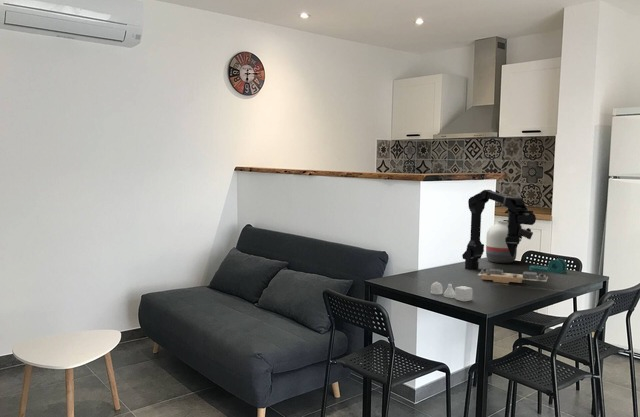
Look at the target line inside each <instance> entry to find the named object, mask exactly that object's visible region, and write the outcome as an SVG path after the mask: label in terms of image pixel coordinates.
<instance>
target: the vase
mask: <svg viewBox="0 0 640 417" xmlns="http://www.w3.org/2000/svg"><path fill="white" fill-rule="evenodd" d="M507 234H508V221H506V220H497V221H495V223H494V224H493V225H492V226H490V227H489V228H488V230H487V232H486V237H485V238H486V240H485V241H486V242H485V243H486V244H485V245H486V246H485V256H486V259H487V260H488V261H489V262H492V263H495V264H511V263H514V262H515V260H516V258H517V253H518V252H517V250H518V249H517V250H516V254H514V257H512V256H511V254H510V252H509V249H508V247H507V244H506V242H505V238H506V237H507Z"/></svg>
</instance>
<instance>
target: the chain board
mask: <svg viewBox="0 0 640 417" xmlns="http://www.w3.org/2000/svg"><path fill="white" fill-rule="evenodd" d="M481 275H482V274H481V271H480V272H479V273H478V274H477V276H480V277H481ZM502 275H506V276H513V275H517V277H522V281H524V280H527V281H535V282H537V281H538V282H547V281H548V279H549V276H546V278H545V280H538V276H539V275H537V278H536V279H527V278H523V274H519V273H509V272H508V273H507V272H503V274H502Z"/></svg>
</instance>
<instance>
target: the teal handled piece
mask: <svg viewBox="0 0 640 417" xmlns="http://www.w3.org/2000/svg"><path fill="white" fill-rule="evenodd" d="M567 265H568V264H567V261H566V260H565V259H563V258H555V259H552V260H550V261H549V262H548V264H547V266H541V265H529V271H531V272H534V271H535V272H545V273H547V272H548V273H553V274H561V275H562V274H567V272H568V270H567V269H568V266H567Z"/></svg>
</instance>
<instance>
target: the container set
mask: <svg viewBox="0 0 640 417" xmlns="http://www.w3.org/2000/svg"><path fill="white" fill-rule="evenodd" d="M430 294H433V295H443V297H444V298H448V299H449V298H450V299H453V298H454V299H455V300H457V301H461V302H468V301H473V288H472V287H469V286H464V285H461V286H455V288H454V289H453V285H452V283H448V284H447V288H446V289H445V290H444V292H443V285H442V284H441V283H440V282H439V281H435V282H433V283H432V284H431V285H430Z"/></svg>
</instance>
